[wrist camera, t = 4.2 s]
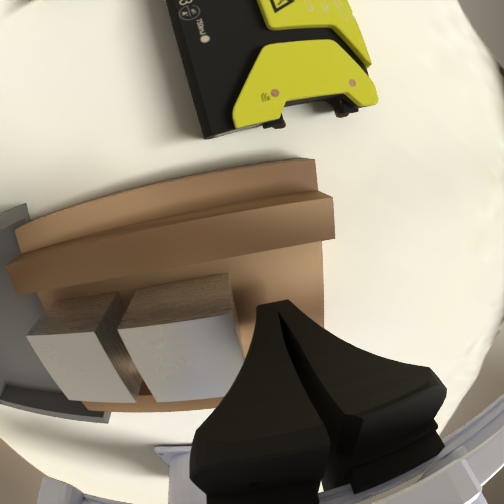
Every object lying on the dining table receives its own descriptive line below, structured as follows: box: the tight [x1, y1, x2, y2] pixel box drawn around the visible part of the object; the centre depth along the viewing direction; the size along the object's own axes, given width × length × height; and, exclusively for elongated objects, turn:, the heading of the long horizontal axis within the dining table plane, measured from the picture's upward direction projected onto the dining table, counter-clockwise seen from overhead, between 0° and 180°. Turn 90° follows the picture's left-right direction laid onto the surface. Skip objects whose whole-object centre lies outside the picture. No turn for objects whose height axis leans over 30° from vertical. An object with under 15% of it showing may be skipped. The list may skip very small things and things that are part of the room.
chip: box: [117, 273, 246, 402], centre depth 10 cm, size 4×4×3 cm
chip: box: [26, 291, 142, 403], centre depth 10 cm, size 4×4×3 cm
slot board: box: [5, 158, 335, 412], centre depth 12 cm, size 12×14×3 cm
